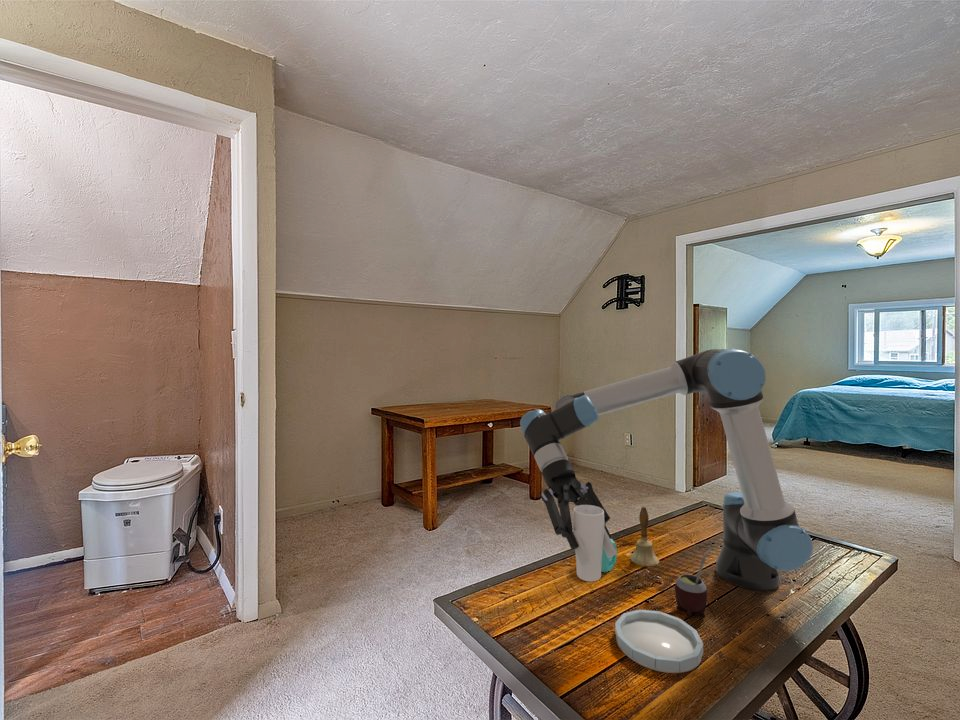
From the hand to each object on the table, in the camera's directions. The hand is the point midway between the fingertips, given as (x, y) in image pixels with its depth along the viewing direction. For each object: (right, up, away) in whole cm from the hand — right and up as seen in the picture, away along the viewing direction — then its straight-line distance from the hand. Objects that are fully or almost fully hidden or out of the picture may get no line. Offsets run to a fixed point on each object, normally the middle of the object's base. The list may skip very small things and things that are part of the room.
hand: (599, 559), depth 97 cm
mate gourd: (+26, -18, +12) cm, 33 cm away
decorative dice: (+9, -18, +35) cm, 40 cm away
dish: (+12, -18, 0) cm, 22 cm away
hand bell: (+24, -17, +39) cm, 48 cm away
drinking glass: (-1, -6, +3) cm, 7 cm away
